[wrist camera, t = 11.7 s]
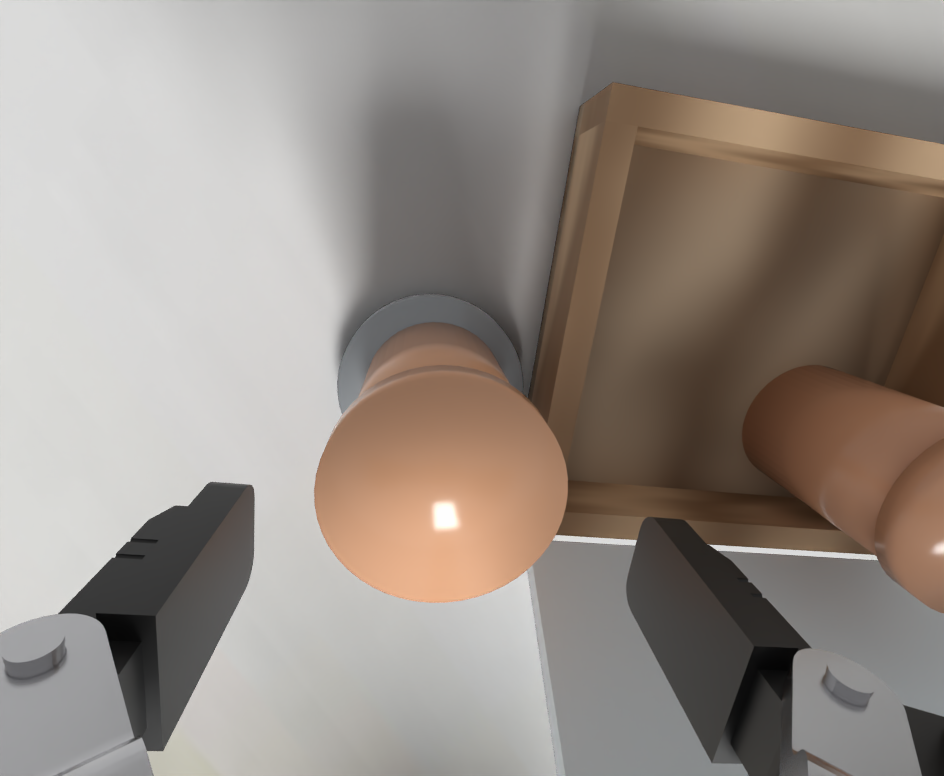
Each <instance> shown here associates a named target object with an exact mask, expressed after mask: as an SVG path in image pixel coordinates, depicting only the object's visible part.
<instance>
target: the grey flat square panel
mask: <svg viewBox="0 0 944 776" xmlns="http://www.w3.org/2000/svg"><path fill="white" fill-rule="evenodd" d="M634 550H635V546H630V545H614V544H597V543H581V542H564V541H552V542H551V543H550V545H549V547H548V548H547V549H546V550H545V552H544V553H543V554H542V556H541V557H540V558H539V559H538V560H537V561H536V562H535V563H534V564H533V565H532V566H531V567H530V568H529V569H528V570H527V572H528V579H529V586H530V592H531V599H532V606H533V613H534V620H535V627H536V634H537V640H538V647H539V654H540V661H541V668H542V675H543V682H544V689H545V695H546V702H547V709H548V716H549V723H550V730H551V737H552V743H553V750H554V757H555V764H556V771H557V776H747V775H748V773H747V771H746V769H745V768H744V766H743V764H722V763H711V761H710V759H709V757H708V755H707V753H706V751H705V749H704V748H703V746H702V744H701V742H700V740H699V738H698V736H697V734H696V732H695V731H694V729H693V727H692V725H691V723H690V721H689V719H688V717H687V716H686V714H685V712H684V710H683V708H682V706H681V704H680V702H679V701H678V699H677V697H676V695H675V693H674V691H673V689H672V687H671V686H670V684H669V682H668V680H667V678H666V676H665V674H664V672H663V671H662V669H661V667H660V665H659V663H658V661H657V659H656V657H655V656H654V654H653V652H652V650H651V648H650V646H649V644H648V642H647V640H646V639H645V637H644V635H643V633H642V631H641V629H640V627H639V625H638V624H637V622H636V620H635V618H634V616H633V614H632V612H631V610H630V608H629V605H628V601H627V594H626V583H627V577H628V573H629V569H630V565H631V561H632V557H633V554H634ZM718 552H720V553H721V554H723V555H724V556H725V557H727V558H728V559H730V560H731V561H732V562H733V563H734V564H735V565H736V566H737V567H738V568H739V569H740V570H741V571H742V573H743V574H744V575H745V576H746V577H747V578H748V582H752V583H753V585H754V586H755V587H756V588H757V589H758V590H759V591H760V592H761V593H762V597H763V598H766V599H767V600H768V601H769V602H770V603H771V604H772V605H773V606H774V607H775V608H776V610H777V611H778V612H779V613H780V614H781V615H782V616H783V617H784V618H785V619H786V620H787V622H788V623H789V624H790V625H791V626H792V627H793V628H794V629H795V630H796V631H797V632H798V633H799V635H800V636H801V637H802V638H803V639H804V640H805V641H806V642H807V643H808V644H809V645H810V647H811V648H814V649H821V650H826V651H829V652H833V653H836V654H838V655H841V656H843V657H846V658H848V659H850V660H852V661H854V662H855V663H857V664H859V665H861V666H863V667H864V668H866V669H867V670H869V671H870V672H872V673H873V674H874V675H876V676H877V677H878V678H880V679H881V680H882V681H883V682H884V683H885V684H886V685H887V686H888V687H889V688H890V689H891V690H892V691H893V692H894V693H895V694H896V695H897V697H898V698H899V699H900V701H901V703H902V704H903V705H905V706H909V707H912V708H916V709H919V710H923V711H926V712H929V713H933V714H936V715H940V716H943V717H944V613H940V612H938V611H935V610H933V609H931V608H929V607H928V606H926V605H925V604H923V603H922V602H921V601H919V600H918V599H917V598H915V597H914V596H913V595H911V594H910V593H909V592H908V591H906V590H905V589H904V588H902V587H901V586H900V585H898V584H897V583H896V582H894V581H893V580H892V579H891V578H890V577H889V576H888V575H887V574H886V573H885V571H884V570H883V569H882V567H881V565H880V563H879V561H877V560H861V559H844V558H828V557H811V556H795V555H778V554H762V553H745V552H729V551H718Z"/></svg>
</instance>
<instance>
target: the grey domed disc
mask: <svg viewBox="0 0 944 776" xmlns="http://www.w3.org/2000/svg"><path fill="white" fill-rule="evenodd" d="M428 322H442V323H448V324H453V325H456V326H459V327H462V328H464V329H466V330H468V331H470V332H472V333H473V334H475V335H476V336H478V337H479V338H480V339H481V340H482V341H483V342H484V343H485V344H486V345H487V346H488V347H489V348H490V350H491V351H492V353H493V354H494V356H495V357H496V359H497V361H498V363H499V365H500V366H501V368H502V370H503V372H504V373H505V375H506V377H507V379H508V381H509V382H510V384H511V385H512V386H514V387H515V388H516V389H518V390H519V391H520V392H521V393H522V394H523V375H522V369H521V364H520V361H519V358H518V355H517V353H516V350H515V348H514V346H513V344H512V343H511V341H510V339H509V338H508V336H507V335H506V333H505V332H504V331H503V330H502V328H501V327H500V326H499V325H498V324H497V323H496V321H495V320H494V319H493V318H492V317H490V316H489V315H488V314H487V313H486V312H484V311H483V310H481V309H480V308H478V307H477V306H475V305H473V304H471V303H469V302H467V301H465V300H462V299H459V298H456V297H453V296H447V295H442V294H418V295H413V296H408V297H404V298H401V299H398V300H396V301H393V302H391V303H389V304H387V305H385V306H383V307H382V308H380V309H379V310H377V311H376V312H375V313H373V314H372V315H371V316H370V317H369V318H368V319H367V320H365V321H364V323H363V324H362V325H361V326H360V327H359V329H358V330H357V331H356V333H355V334H354V336H353V338H352V339H351V341H350V343H349V344H348V346H347V348H346V350H345V352H344V355H343V357H342V360H341V364H340V367H339V373H338V381H337V388H338V399H339V405H340V408H341V412H342V414H343V413H344V412H345V411H346V410H347V408H348V407H349V406H350V405H351V404H352V403H353V402H354V401H355V400H356V399H357V398H358V395H359V393H360V390H361V387H362V384H363V382H364V379H365V376H366V373H367V370H368V368H369V365H370V363H371V361H372V359H373V357H374V355H375V354H376V352H377V351H378V349H379V348H380V347H381V346H382V345H383V343H384V342H386V341H387V340H388V339H389V338H390V337H391V336H393V335H394V334H396V333H397V332H399V331H401V330H403V329H405V328H407V327H410V326H413V325H416V324H421V323H428Z"/></svg>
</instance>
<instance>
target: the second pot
mask: <svg viewBox="0 0 944 776" xmlns="http://www.w3.org/2000/svg"><path fill="white" fill-rule="evenodd" d="M742 442H743V448H744V451H745V454H746V456H747V457H748V459H749V461H750V462H751V463H752V465H753V466H755V467H756V468H757V469H758V470H759V471H761V472H762V473H763V474H765V475H766V476H767V477H769V478H770V479H772V480H773V481H774V482H776V483H777V484H778V485H780V486H781V487H783V488H784V489H785V490H787V491H788V492H789V493H791V494H792V495H793V496H795V497H796V498H798V499H799V500H800V501H802V502H803V503H804V504H806V505H807V506H809V507H810V508H811V509H813V510H814V511H815V512H817V513H818V514H819V515H821V516H822V517H824V518H825V519H826V520H828V521H829V522H830V523H832V524H833V525H835V526H836V527H837V528H839V529H840V530H841V531H843V532H844V533H846V534H847V535H848V536H850V537H851V538H852V539H854V540H855V541H856V542H858V543H859V544H861V545H862V546H863V547H865V548H866V549H867V550H869V551H870V552H872V553H873V554H874V555H876V556H877V559H878V561H879V563H880V565H881V567H882V569H883V570H884V571H885V573H886V574H887V575H888V576H889V577H890V578H891V579H892V580H893V581H894V582H896V583H897V584H898V585H900V586H901V587H902V588H904V589H905V590H906V591H908V592H909V593H910V594H911V595H913V596H914V597H915V598H917V599H918V600H919V601H921V602H922V603H923V604H925V605H926V606H928V607H929V608H931V609H933V610H935V611H938V612H940V613H944V407H941V406H938V405H935V404H933V403H930V402H927V401H924V400H921V399H918V398H916V397H913V396H910V395H907V394H904V393H901V392H899V391H896V390H893V389H890V388H887V387H884V386H881V385H879V384H876V383H873V382H870V381H867V380H864V379H862V378H859V377H856V376H853V375H850V374H847V373H845V372H842V371H839V370H836V369H833V368H830V367H827V366H822V365H807V366H802V367H797V368H794V369H792V370H789V371H787V372H785V373H783V374H781V375H779V376H778V377H776V378H775V379H773V380H772V381H771V382H769V383H768V384H767V385H766V386H765V387H764V388H763V389H762V390H761V391H760V392H759V393H758V395H757V396H756V397H755V399H754V400H753V402H752V403H751V405H750V407H749V409H748V411H747V414H746V416H745V419H744V423H743V429H742Z"/></svg>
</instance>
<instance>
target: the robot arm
mask: <svg viewBox="0 0 944 776" xmlns="http://www.w3.org/2000/svg"><path fill="white" fill-rule="evenodd" d="M254 500H255V498H254V489H253V487H252V485H245V484H233V483H220V482H210V483H208V484H207V485H206V486H205V487H204V489H203V490H202V491H201V492H200V493H199V494H198V495H197V497H196V498H195V499H194V500H193V501H192V502H191V504H190V505H189V506H173V507H172V508H170V509H168V510H166V511H164V512H162V513H161V514H159V515H157V516H155V517H153V518H151V519H150V520H148V521H147V522H146V523H145V524H144V525H143V526H142V527H141V528H140V529H139V531H138V532H137V533H136V534H135V535H134V536H133V537H132V538H131V541H130V542H127V543H126V544H125V545H124V546H123V547H122V548H121V549H120V550H119V551H118V552H117V553H116V557H115V558H112V559H111V560H110V561H109V562H108V563H107V564H106V565H105V566H104V567H103V568H102V569H101V570H100V571H99V572H98V573H97V574H96V575H95V576H94V577H93V578H92V579H91V580H90V581H89V582H88V583H87V584H86V585H85V587H84V588H83V589H82V590H81V591H80V592H79V593H78V594H77V595H76V596H75V597H74V598H73V599H72V600H71V601H70V602H69V603H68V604H67V605H66V606H65V607H64V608H63V609H62V610H61V611H60V612H59V613H58V614H55V615H50V616H44V617H40V618H37V619H33V620H30V621H27V622H24V623H21V624H18V625H16V626H14V627H12V628H9V629H7V630H5V631H3V632H1V633H0V776H154V775H153V771H152V768H151V764H150V761H149V757H148V754H147V751H163V750H164V748H165V746H166V744H167V742H168V740H169V738H170V736H171V734H172V732H173V730H174V728H175V726H176V725H177V723H178V721H179V719H180V717H181V715H182V713H183V711H184V709H185V707H186V705H187V703H188V701H189V699H190V697H191V695H192V693H193V691H194V689H195V687H196V685H197V683H198V681H199V679H200V677H201V675H202V673H203V671H204V669H205V668H206V666H207V664H208V662H209V660H210V658H211V656H212V654H213V652H214V650H215V648H216V646H217V644H218V642H219V640H220V638H221V636H222V634H223V632H224V630H225V628H226V626H227V624H228V622H229V620H230V618H231V616H232V614H233V613H234V611H235V609H236V607H237V605H238V603H239V601H240V599H241V597H242V595H243V593H244V591H245V589H246V587H247V584H248V581H249V578H250V575H251V570H252V565H253V558H254ZM626 594H627V601H628V605H629V608H630V610H631V612H632V614H633V616H634V618H635V620H636V622H637V624H638V625H639V627H640V629H641V631H642V633H643V635H644V637H645V639H646V640H647V642H648V644H649V646H650V648H651V650H652V652H653V654H654V656H655V657H656V659H657V661H658V663H659V665H660V667H661V669H662V671H663V672H664V674H665V676H666V678H667V680H668V682H669V684H670V686H671V687H672V689H673V691H674V693H675V695H676V697H677V699H678V701H679V702H680V704H681V706H682V708H683V710H684V712H685V714H686V716H687V717H688V719H689V721H690V723H691V725H692V727H693V729H694V731H695V732H696V734H697V736H698V738H699V740H700V742H701V744H702V746H703V748H704V749H705V751H706V753H707V755H708V757H709V759H710V761H711V763H722V764H743V766H744V768H745V769H746V771H747V773H748V775H747V776H944V717H943V716H940V715H936V714H933V713H929V712H926V711H923V710H919V709H916V708H912V707H909V706H905V705H903V704H902V703H901V701H900V699H899V698H898V697H897V695H896V694H895V693H894V692H893V691H892V690H891V689H890V688H889V687H888V686H887V685H886V684H885V683H884V682H883V681H882V680H881V679H880V678H878V677H877V676H876V675H874V674H873V673H872V672H870V671H869V670H867V669H866V668H864V667H863V666H861V665H859V664H857V663H855V662H854V661H852V660H850V659H848V658H846V657H843V656H841V655H838V654H836V653H833V652H829V651H826V650H821V649H814V648H811V647H810V645H809V644H808V643H807V642H806V641H805V640H804V639H803V638H802V637H801V636H800V635H799V633H798V632H797V631H796V630H795V629H794V628H793V627H792V626H791V625H790V624H789V623H788V622H787V620H786V619H785V618H784V617H783V616H782V615H781V614H780V613H779V612H778V611H777V610H776V608H775V607H774V606H773V605H772V604H771V603H770V602H769V601H768V600H767V599H766V598H763V597H762V593H761V592H760V591H759V590H758V589H757V588H756V587H755V586H754V585H753V583H752V582H748V578H747V577H746V576H745V575H744V574H743V573H742V571H741V570H740V569H739V568H738V567H737V566H736V565H735V564H734V563H733V562H732V561H731V560H730V559H728V558H727V557H725V556H724V555H723V554H721V553H720V552H718V551H717V550H715V549H714V548H712V547H711V546H709V545H707V544H706V543H705V542H704V541H703V540H702V538H701V537H700V536H699V535H698V534H697V533H696V532H695V531H694V529H693V528H692V527H691V526H690V525H689V524H688V523H687V522H686V521H685V520H682V519H672V518H659V517H647V518H645V519H644V521H643V522H642V524H641V527H640V531H639V534H638V538H637V542H636V546H635V550H634V554H633V557H632V561H631V565H630V569H629V573H628V577H627V583H626Z"/></svg>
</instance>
